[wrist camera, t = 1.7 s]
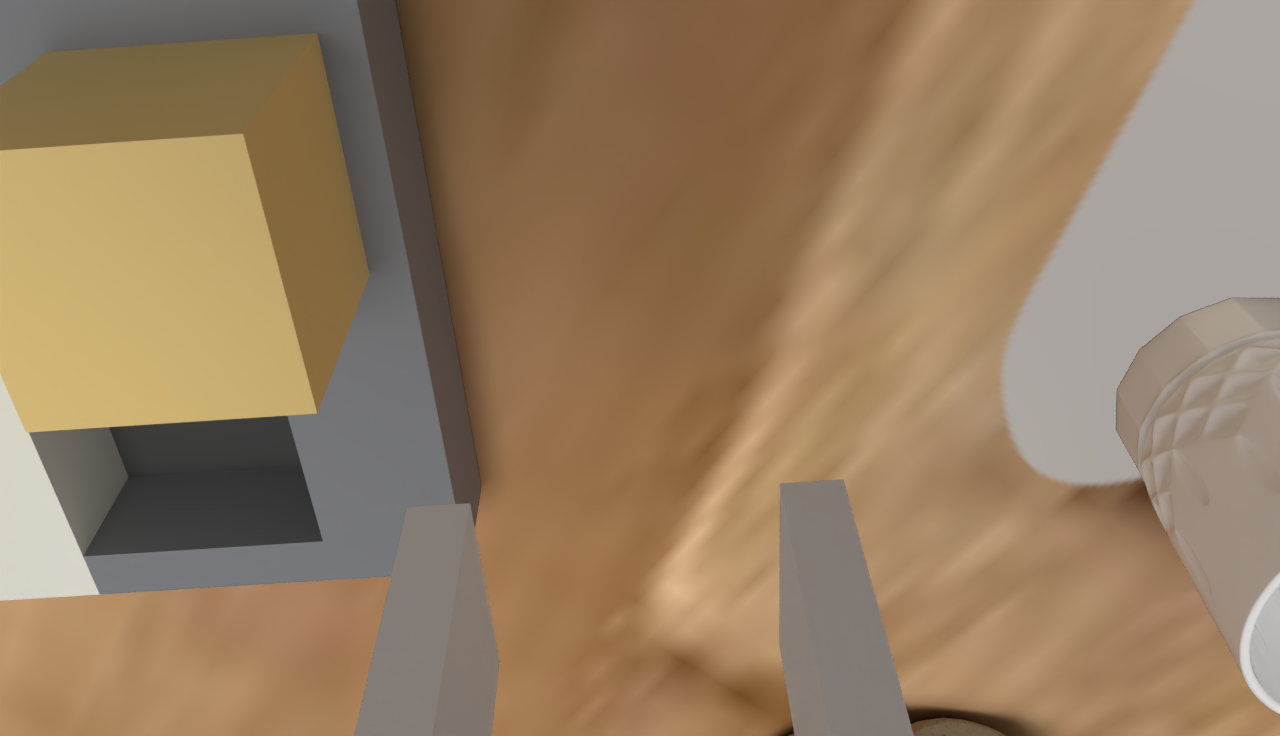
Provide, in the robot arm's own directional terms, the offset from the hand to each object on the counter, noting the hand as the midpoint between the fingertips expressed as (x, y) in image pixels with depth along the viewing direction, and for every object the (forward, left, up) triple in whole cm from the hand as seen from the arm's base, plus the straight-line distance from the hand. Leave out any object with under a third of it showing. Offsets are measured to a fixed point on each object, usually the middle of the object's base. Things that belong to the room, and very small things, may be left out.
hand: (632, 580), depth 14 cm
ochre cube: (+10, 0, -15) cm, 17 cm away
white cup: (-18, +11, -19) cm, 28 cm away
